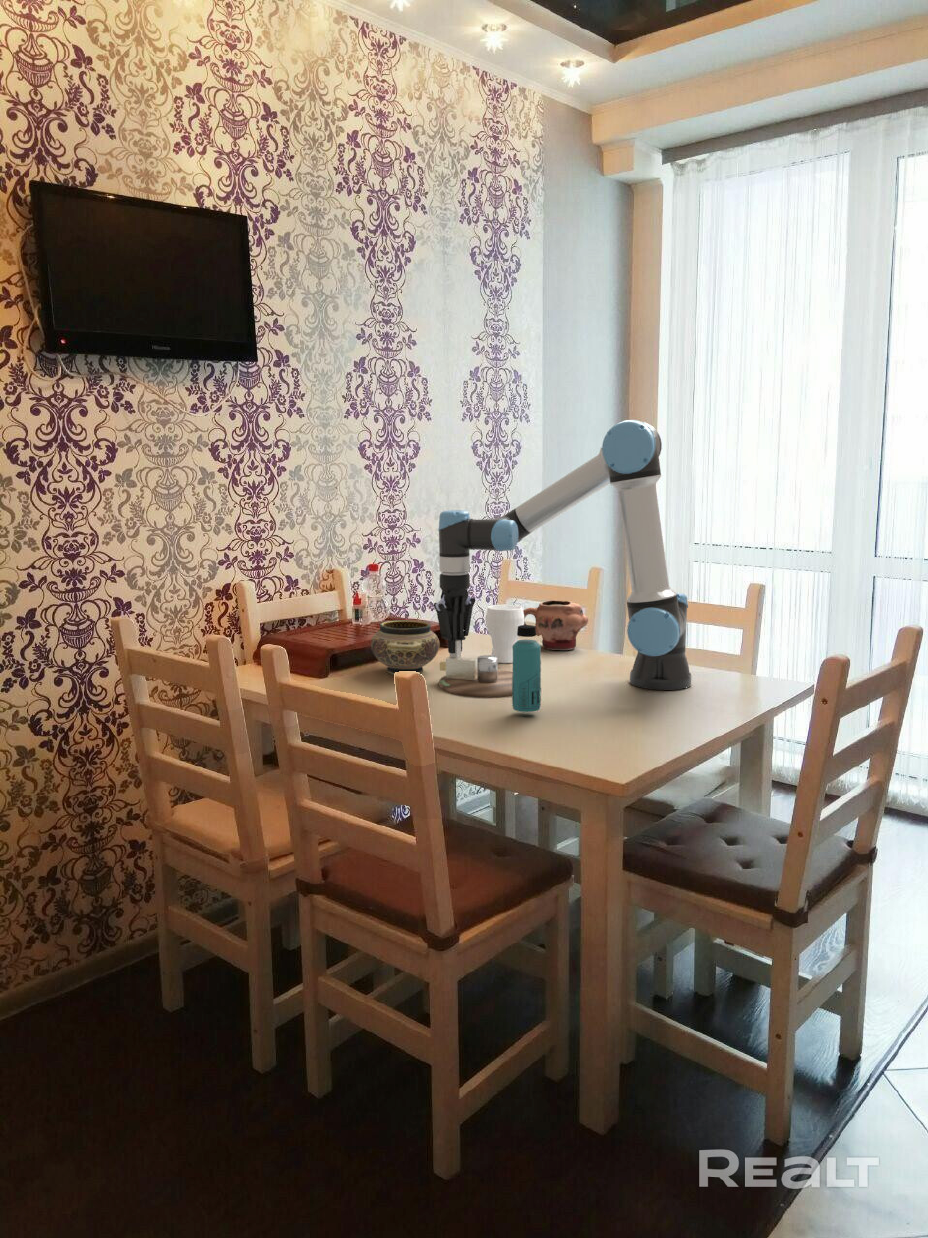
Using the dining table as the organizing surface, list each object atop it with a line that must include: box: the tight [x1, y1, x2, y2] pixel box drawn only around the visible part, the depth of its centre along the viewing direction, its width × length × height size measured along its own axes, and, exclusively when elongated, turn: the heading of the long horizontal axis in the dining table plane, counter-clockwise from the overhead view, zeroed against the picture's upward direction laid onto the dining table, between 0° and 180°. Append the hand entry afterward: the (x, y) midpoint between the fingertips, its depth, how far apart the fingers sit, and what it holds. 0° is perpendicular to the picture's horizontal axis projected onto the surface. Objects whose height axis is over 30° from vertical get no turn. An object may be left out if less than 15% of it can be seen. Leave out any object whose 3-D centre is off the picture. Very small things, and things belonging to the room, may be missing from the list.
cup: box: [485, 603, 525, 664], centre depth 258 cm, size 11×11×15 cm
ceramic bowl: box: [370, 619, 441, 675], centre depth 245 cm, size 24×18×15 cm
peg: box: [439, 654, 499, 683], centre depth 233 cm, size 15×5×6 cm, turn 73°
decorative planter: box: [523, 600, 589, 651], centre depth 275 cm, size 20×12×14 cm, turn 86°
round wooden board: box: [438, 669, 513, 698], centre depth 232 cm, size 24×24×1 cm
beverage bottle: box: [511, 624, 542, 713], centre depth 204 cm, size 6×7×20 cm
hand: (455, 665), depth 237 cm, fingers closed
